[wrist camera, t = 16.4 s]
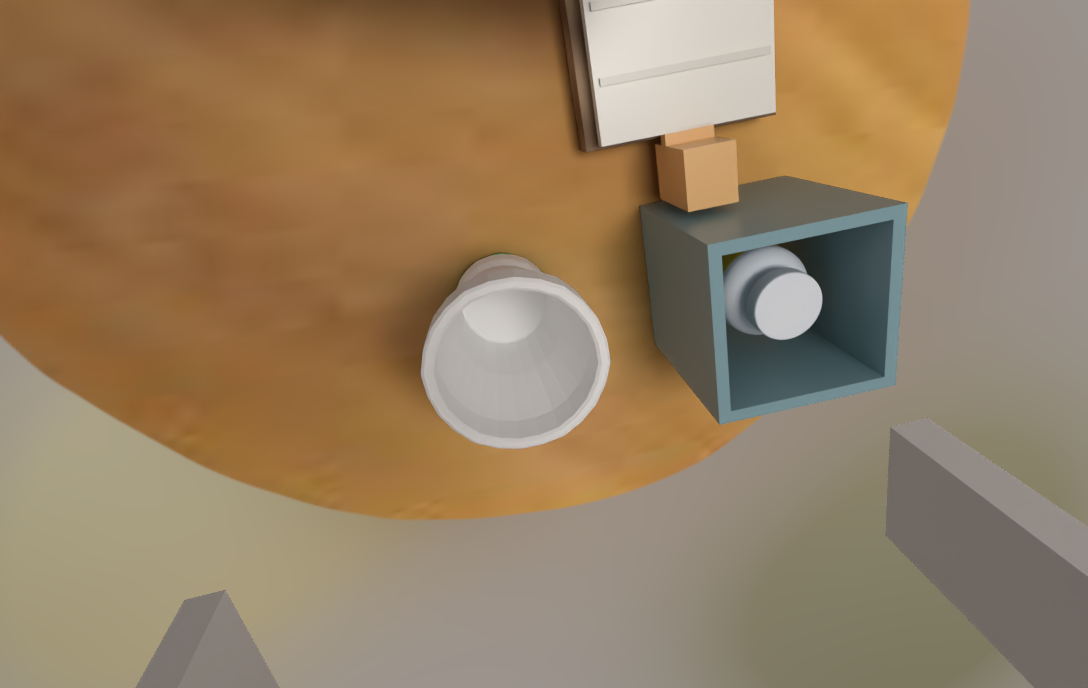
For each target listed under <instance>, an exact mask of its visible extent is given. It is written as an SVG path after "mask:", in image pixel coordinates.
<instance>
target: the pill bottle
mask: <svg viewBox="0 0 1088 688" xmlns="http://www.w3.org/2000/svg"><path fill="white" fill-rule="evenodd" d="M722 268H723V285H724V302H725V319H726V322H727V323H728V324H729V325H731V326H732V327H734V328H735V329H737V330H739V331H741V332H743V333H747V334H753V335H762V334H764V335H766V336H768V337H770V338H773V339H777V340H786V339H791V338H794V337H797V336H799V335H800V334H802V333H804V332H805V331H806V330H807V329H809V328H810V327H811V326H812V324H813V323H814V322H815V320H816V319H817V317H818V315H819V313H820V310H821V307H822V292H821V289H820V287H819V285H818V283H817V282H816V281H815V280H814V279H813V278H812V277H811V276H809V275H807V272H806V269H805V267H804V265H803V264H802V262H801V261H800V259H799V258H798V257H797V256H796V255H794V254H793V253H792V252H790V251H789V250H787V249H785V248H783V247H780V246H778V245H776V244H775V245H770V246H766V247H761V248H756V249H751V250H747V251H742V252H737V253H732V254H728V255H723V256H722Z"/></svg>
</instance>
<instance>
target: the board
mask: <svg viewBox="0 0 1088 688" xmlns="http://www.w3.org/2000/svg"><path fill="white" fill-rule="evenodd" d="M559 7H560V14H561V21H562V28H563V34H564V41H565V48H566V55H567V62H568V69H569V76H570V82H571V89H572V96H573V103H574V110H575V117H576V123H577V130H578V137H579V144H580V150H582V151H585V152H591V151H596V150H601V149H606V148H611V147H616V146H621V145H626V144H631V143H636V142H641V141H646V140H651V139H656V138H661V135H659V136H654V137H649V138H644V139H639V140H634V141H629V142H624V143H619V144H614V145H609V146H604V147H601V146H599V144H598V136H597V129H596V121H595V114H594V106H593V99H592V92H591V84H590V77H589V69H588V62H587V54H586V47H585V39H584V32H583V24H582V17H581V9H580V2H579V0H559ZM771 115H776V112H774V113H769V114H764V115H759V116H754V117H749V118H744V119H739V120H734V121H729V122H724V123H719V124H714V127H716V126H721V125H726V124H731V123H736V122H741V121H746V120H751V119H756V118H761V117H766V116H771Z"/></svg>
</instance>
